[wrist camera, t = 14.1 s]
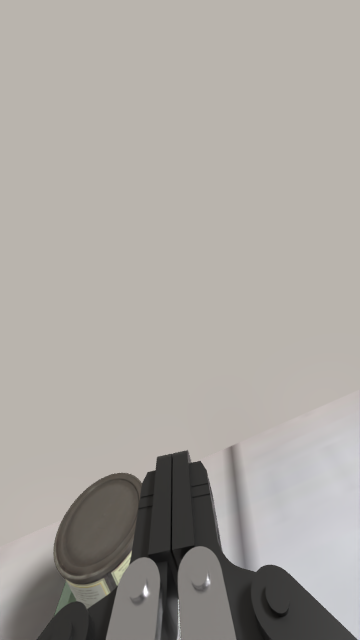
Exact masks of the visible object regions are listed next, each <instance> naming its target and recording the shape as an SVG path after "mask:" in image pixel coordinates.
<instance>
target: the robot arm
mask: <svg viewBox="0 0 360 640" xmlns="http://www.w3.org/2000/svg"><path fill="white" fill-rule="evenodd" d="M178 599H179V610H180V626H181V640H357V639H356V638H355V637H354V636H353V635H352V634H351V633H350V632H349V631H348V630H347V629H346V628H345V627H344V626H343V625H342V624H341V623H340V622H339V621H338V620H337V619H336V618H335V617H334V616H332V615H331V614H330V613H329V612H328V611H327V610H326V609H325V608H324V607H323V606H322V605H321V604H320V603H319V602H318V601H317V600H316V599H315V598H314V597H313V596H312V595H311V594H310V593H309V592H308V591H306V590H305V589H304V588H303V587H302V586H301V585H300V584H299V583H298V582H297V581H296V580H295V579H294V578H293V577H292V576H291V575H290V574H289V573H288V572H286V571H285V570H284V569H282V568H280V567H278V566H275V565H265V566H263V567H261V568H260V569H259V570H258V571H257V572H253V571H250V570H246V569H243V568H240V567H237V566H235V565H234V564H232V563H231V562H230V561H229V560H228V559H227V558H226V557H225V555H224V554H223V552H222V547H221V541H220V535H219V530H218V524H217V518H216V512H215V506H214V500H213V495H212V491H211V487H210V483H209V479H208V474H207V470H206V469H205V467H204V466H203V464H202V463H201V461H198V462H193V463H191V460H190V455H189V452H188V451H182V452H178V453H173V454H168V455H164V456H159V457H157V463H156V471H151V472H148V473H147V475H146V477H145V479H144V481H143V483H142V487H141V493H140V500H139V507H138V513H137V520H136V527H135V533H134V540H133V547H132V553H131V559H130V563H129V566H128V567H127V569H126V570H125V571H124V573H123V575H122V577H121V579H120V581H119V584H118V586H117V587H116V588H115V589H114V590H113V591H112V592H111V593H109V594H108V595H107V596H105V597H104V598H102V599H101V600H99V601H98V602H96V603H95V604H93V605H92V606H91V607H89V608H88V609H87V608H86V606H85V605H84V604H83V603H81V602H78V601H75V602H71V603H69V604H67V605H65V606H64V607H63V608H62V609H61V610H60V611H59V612H58V613H57V614H56V615H55V616H54V617H53V619H52V620H51V621H50V623H49V624H48V625H47V627H46V628H45V629H44V631H43V632H42V633H41V635H40V636H39V637H38V639H37V640H180V632H179V626H178Z"/></svg>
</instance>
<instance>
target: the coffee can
mask: <svg viewBox="0 0 360 640" xmlns="http://www.w3.org/2000/svg"><path fill="white" fill-rule="evenodd" d="M141 487H142V483H141V482H140V480H139V479H138V478H136V477H135V476H133V475H131V474H128V473H117V474H111V475H109V476H106V477H104V478H102V479H100V480H98V481H97V482H95V483H94V484H92V485H91V486H90V487H88V488H87V489H86V490H85V491H84V492H83V493H82V494H81V495H80V496H79V497H78V498H77V499H76V500H75V501H74V503H73V504H72V505H71V507H70V508H69V510H68V511H67V513H66V514H65V516H64V518H63V520H62V522H61V524H60V526H59V529H58V531H57V534H56V538H55V543H54V562H55V564H56V567H57V569H58V571H59V572H60V574H61V575H62V576H63V577H64V578H65V580H66V582H67V583H68V585H69V587H70V589H71V591H72V593H73V594H74V596H75V598H76V600H77V601H78V602H81V603H83V604H84V605H85V606H86V608H87V609H88V608H89V607H91V606H92V605H93V604H95V603H96V602H98V601H99V600H101V599H102V598H104V597H105V596H107V595H108V594H109V593H111V592H112V591H113V590H114V589H115V588H116V587H117V586H118V584H119V581H120V579H121V577H122V575H123V573H124V571H125V570H126V569H127V567H128V566H129V563H130V559H131V553H132V547H133V540H134V533H135V527H136V520H137V513H138V507H139V500H140V493H141Z"/></svg>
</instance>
